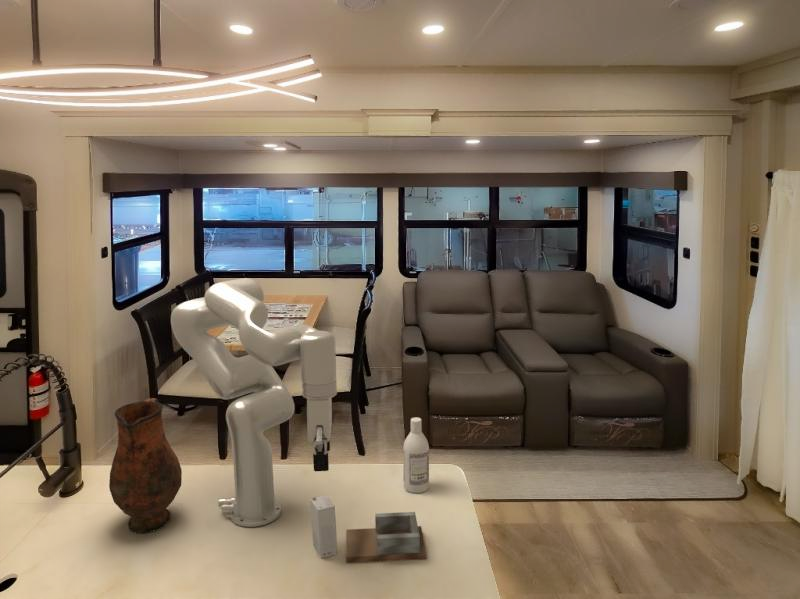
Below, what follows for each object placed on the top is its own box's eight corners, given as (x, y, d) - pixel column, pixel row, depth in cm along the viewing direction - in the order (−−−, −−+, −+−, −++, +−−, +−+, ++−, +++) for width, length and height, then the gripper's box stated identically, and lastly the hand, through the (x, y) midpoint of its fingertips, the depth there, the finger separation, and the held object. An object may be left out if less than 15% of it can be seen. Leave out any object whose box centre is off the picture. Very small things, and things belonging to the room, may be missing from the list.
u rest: (346, 563, 143) (345, 540, 142) (346, 535, 154) (345, 514, 153) (426, 558, 144) (426, 536, 143) (421, 531, 155) (421, 510, 154)
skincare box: (338, 554, 146) (337, 506, 144) (319, 559, 144) (318, 510, 142) (329, 540, 152) (327, 493, 149) (311, 545, 150) (309, 498, 147)
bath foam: (434, 488, 176) (434, 419, 171) (414, 496, 171) (414, 426, 167) (417, 479, 181) (417, 412, 177) (398, 486, 177) (397, 418, 172)
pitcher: (102, 542, 151) (89, 423, 145) (133, 496, 172) (122, 390, 166) (174, 539, 152) (163, 421, 146) (196, 494, 173) (188, 389, 167)
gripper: (304, 375, 148) (307, 444, 152) (299, 402, 131) (302, 479, 135) (337, 374, 149) (339, 443, 152) (336, 401, 132) (338, 478, 135)
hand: (322, 460), depth 143 cm, fingers open, 9 cm apart
